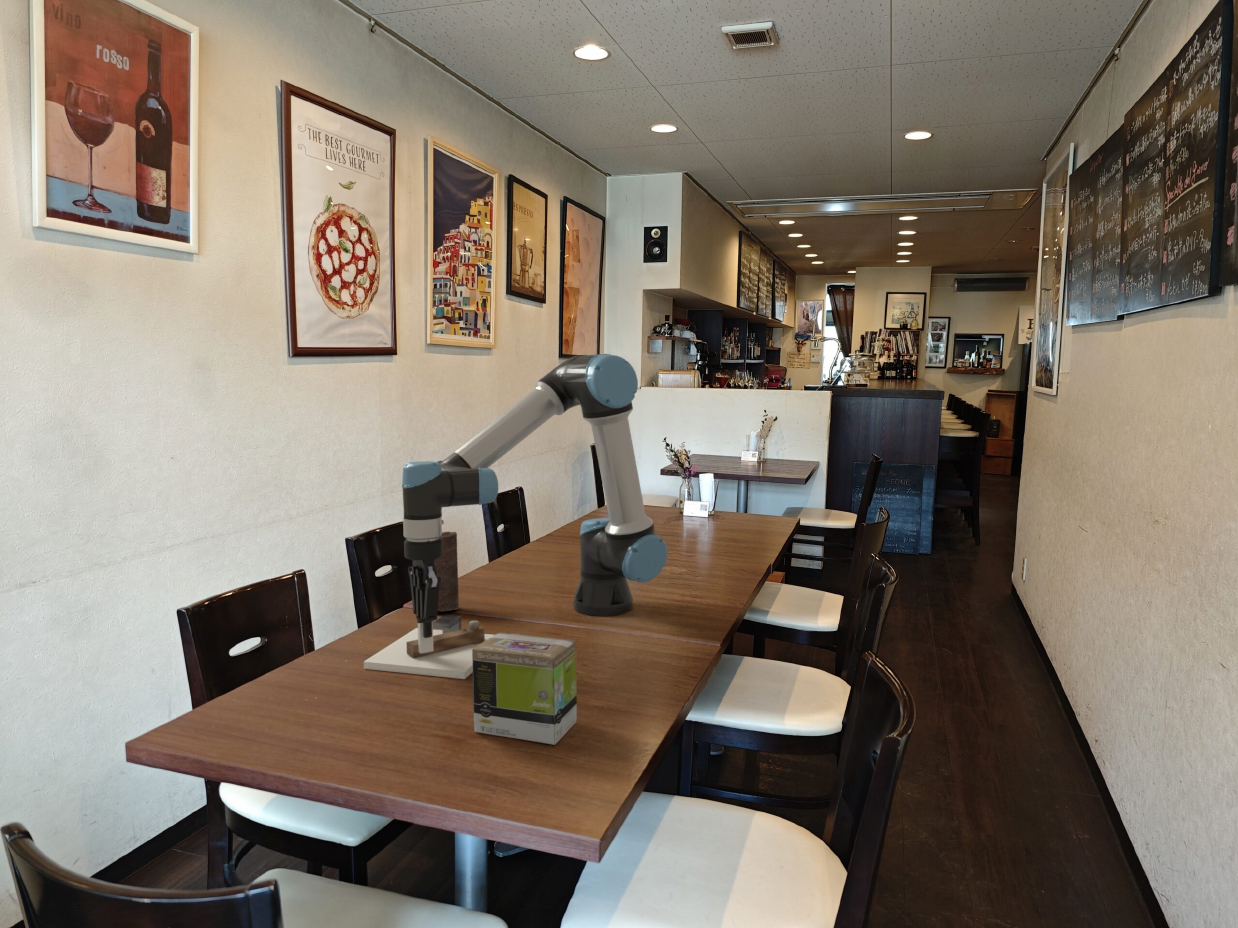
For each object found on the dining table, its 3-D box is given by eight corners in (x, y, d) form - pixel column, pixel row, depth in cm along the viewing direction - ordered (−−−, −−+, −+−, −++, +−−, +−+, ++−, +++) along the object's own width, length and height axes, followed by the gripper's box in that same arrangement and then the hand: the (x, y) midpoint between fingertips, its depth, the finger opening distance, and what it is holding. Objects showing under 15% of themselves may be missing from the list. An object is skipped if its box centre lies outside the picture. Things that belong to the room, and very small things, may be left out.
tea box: (578, 721, 137) (578, 638, 135) (554, 747, 128) (554, 658, 126) (500, 709, 142) (498, 629, 140) (471, 733, 132) (470, 647, 131)
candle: (451, 616, 195) (449, 536, 193) (423, 614, 197) (421, 535, 195) (463, 607, 203) (462, 530, 201) (436, 605, 204) (434, 529, 202)
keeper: (461, 634, 177) (461, 616, 177) (450, 642, 172) (449, 624, 171) (445, 633, 178) (444, 614, 178) (433, 641, 173) (432, 622, 172)
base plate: (506, 642, 177) (506, 635, 177) (464, 679, 156) (464, 671, 155) (416, 634, 182) (416, 627, 182) (363, 668, 161) (363, 661, 161)
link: (478, 635, 176) (477, 617, 176) (488, 640, 173) (488, 622, 172) (405, 652, 165) (404, 633, 165) (414, 658, 162) (414, 639, 161)
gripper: (452, 541, 157) (455, 657, 160) (430, 531, 168) (432, 639, 171) (415, 545, 153) (418, 664, 156) (394, 534, 164) (398, 645, 167)
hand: (425, 651), depth 163 cm, fingers closed
